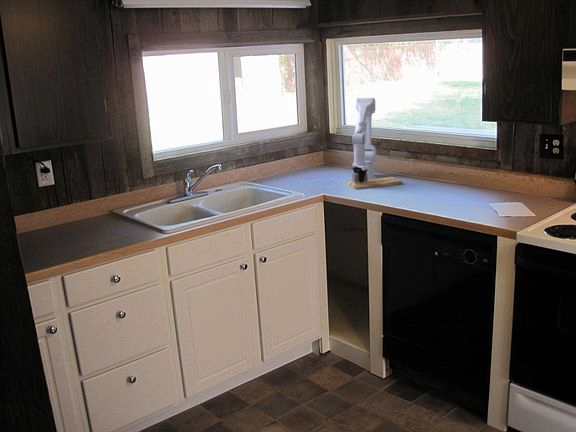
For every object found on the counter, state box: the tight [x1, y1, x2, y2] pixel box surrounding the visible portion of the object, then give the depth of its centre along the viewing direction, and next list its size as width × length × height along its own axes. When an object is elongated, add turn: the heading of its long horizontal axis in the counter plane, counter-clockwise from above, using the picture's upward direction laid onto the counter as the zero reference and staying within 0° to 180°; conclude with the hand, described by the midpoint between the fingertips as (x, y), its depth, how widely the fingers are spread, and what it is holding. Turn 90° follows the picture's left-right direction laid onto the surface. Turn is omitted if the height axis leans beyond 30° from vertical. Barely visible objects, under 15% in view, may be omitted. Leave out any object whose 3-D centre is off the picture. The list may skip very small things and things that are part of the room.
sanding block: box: [351, 172, 368, 184], centre depth 330 cm, size 4×7×5 cm, turn 104°
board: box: [346, 176, 403, 190], centre depth 333 cm, size 14×26×2 cm, turn 104°
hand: (360, 181), depth 331 cm, fingers closed on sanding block, 4 cm apart
